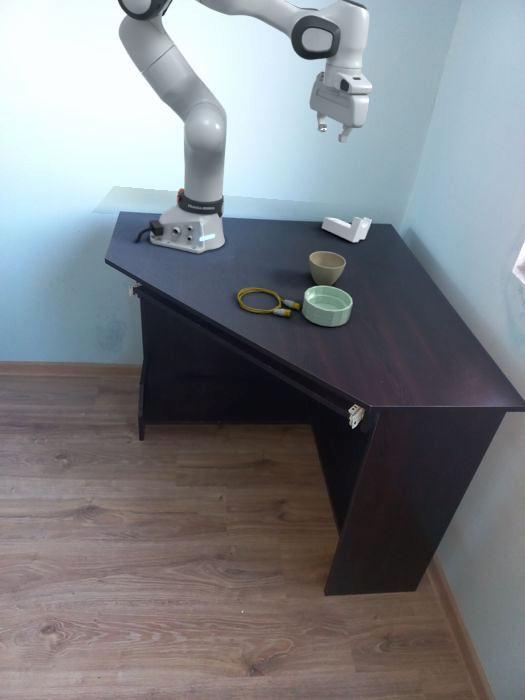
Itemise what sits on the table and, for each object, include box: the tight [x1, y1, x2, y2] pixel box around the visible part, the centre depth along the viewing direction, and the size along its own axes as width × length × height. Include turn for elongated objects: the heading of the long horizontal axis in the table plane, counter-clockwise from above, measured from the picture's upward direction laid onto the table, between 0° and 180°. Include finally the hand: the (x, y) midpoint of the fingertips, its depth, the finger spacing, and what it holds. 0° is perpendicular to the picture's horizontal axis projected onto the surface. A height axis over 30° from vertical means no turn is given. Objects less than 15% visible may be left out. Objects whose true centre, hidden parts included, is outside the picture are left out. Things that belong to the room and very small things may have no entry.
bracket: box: [321, 216, 373, 243], centre depth 176 cm, size 13×7×8 cm, turn 46°
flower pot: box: [308, 250, 347, 287], centre depth 148 cm, size 10×10×7 cm
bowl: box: [301, 285, 354, 328], centre depth 135 cm, size 12×12×5 cm
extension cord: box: [237, 287, 301, 318], centre depth 136 cm, size 12×16×2 cm
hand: (331, 136), depth 140 cm, fingers open, 8 cm apart
